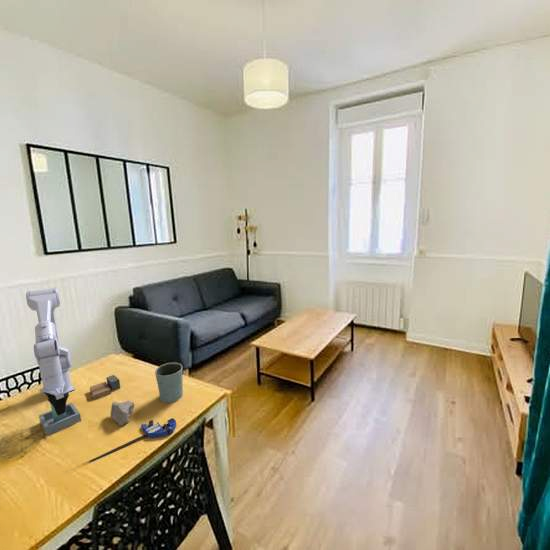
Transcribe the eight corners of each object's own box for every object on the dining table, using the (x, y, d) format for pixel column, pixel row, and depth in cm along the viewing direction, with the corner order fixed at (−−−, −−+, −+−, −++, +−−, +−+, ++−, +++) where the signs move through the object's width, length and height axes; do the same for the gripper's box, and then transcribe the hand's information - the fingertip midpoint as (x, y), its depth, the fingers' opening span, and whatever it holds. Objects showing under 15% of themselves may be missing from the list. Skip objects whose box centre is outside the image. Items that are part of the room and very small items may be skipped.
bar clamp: (168, 410, 109) (179, 424, 101) (169, 416, 109) (179, 430, 101) (59, 459, 89) (62, 481, 82) (61, 466, 90) (64, 489, 82)
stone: (139, 419, 107) (137, 405, 106) (114, 429, 103) (111, 414, 102) (134, 406, 115) (132, 392, 114) (110, 414, 111) (107, 400, 110)
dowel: (53, 420, 107) (48, 400, 106) (65, 415, 110) (60, 395, 108) (55, 425, 105) (51, 404, 103) (67, 419, 108) (63, 399, 106)
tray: (40, 422, 107) (38, 415, 107) (73, 409, 114) (71, 402, 114) (46, 435, 101) (45, 428, 100) (81, 420, 108) (79, 413, 107)
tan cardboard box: (90, 392, 126) (89, 386, 126) (106, 386, 130) (105, 381, 129) (94, 400, 120) (93, 395, 120) (111, 394, 124) (110, 389, 123)
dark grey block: (107, 386, 129) (106, 377, 129) (115, 383, 132) (113, 374, 131) (112, 391, 125) (111, 382, 125) (120, 388, 128) (119, 379, 127)
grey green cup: (174, 386, 127) (172, 360, 125) (190, 394, 122) (187, 366, 119) (153, 398, 119) (149, 370, 117) (168, 407, 114) (165, 378, 111)
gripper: (32, 371, 106) (39, 406, 109) (42, 386, 96) (49, 424, 99) (56, 363, 111) (63, 397, 114) (68, 377, 101) (74, 413, 104)
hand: (58, 409), depth 107 cm, fingers open, 7 cm apart
